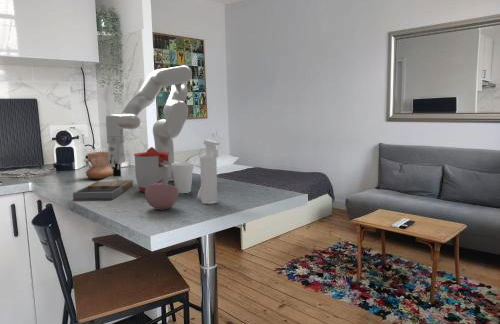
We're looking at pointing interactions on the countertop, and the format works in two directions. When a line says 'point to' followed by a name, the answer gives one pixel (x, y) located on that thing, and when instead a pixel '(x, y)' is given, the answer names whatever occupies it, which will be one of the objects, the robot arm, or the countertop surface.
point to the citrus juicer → (151, 168)
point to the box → (97, 194)
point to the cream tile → (107, 182)
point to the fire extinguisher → (208, 172)
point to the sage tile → (119, 178)
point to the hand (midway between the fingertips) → (117, 177)
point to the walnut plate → (124, 183)
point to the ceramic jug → (98, 165)
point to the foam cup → (182, 176)
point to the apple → (161, 195)
